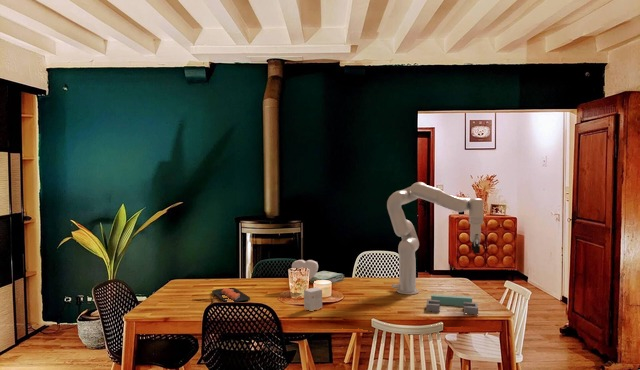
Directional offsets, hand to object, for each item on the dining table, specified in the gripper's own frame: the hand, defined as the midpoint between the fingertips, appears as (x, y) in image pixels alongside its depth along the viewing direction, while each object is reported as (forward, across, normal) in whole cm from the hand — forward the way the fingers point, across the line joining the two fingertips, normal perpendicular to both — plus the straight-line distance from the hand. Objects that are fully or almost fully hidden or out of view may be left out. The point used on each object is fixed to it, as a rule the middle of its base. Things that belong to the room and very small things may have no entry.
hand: (475, 251), depth 252 cm
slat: (+27, +12, -13) cm, 32 cm away
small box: (+27, +35, -84) cm, 95 cm away
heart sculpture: (+27, 0, -98) cm, 101 cm away
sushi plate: (+28, +28, -141) cm, 147 cm away
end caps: (+27, +22, -14) cm, 37 cm away
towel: (+28, -25, -92) cm, 99 cm away
